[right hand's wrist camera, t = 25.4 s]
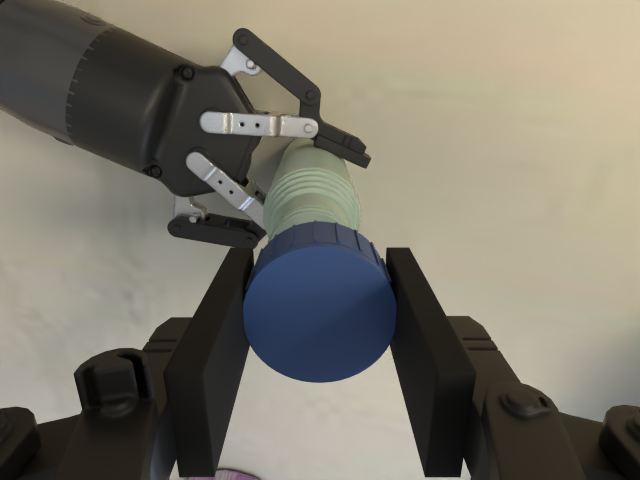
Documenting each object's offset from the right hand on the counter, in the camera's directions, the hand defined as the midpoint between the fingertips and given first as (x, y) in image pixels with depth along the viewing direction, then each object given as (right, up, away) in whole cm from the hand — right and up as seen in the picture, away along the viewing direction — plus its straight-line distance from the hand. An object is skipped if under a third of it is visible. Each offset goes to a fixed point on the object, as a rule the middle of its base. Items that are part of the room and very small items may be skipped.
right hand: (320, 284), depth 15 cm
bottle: (-1, +8, +19) cm, 21 cm away
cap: (0, -1, -2) cm, 2 cm away
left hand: (+2, +4, +14) cm, 14 cm away
